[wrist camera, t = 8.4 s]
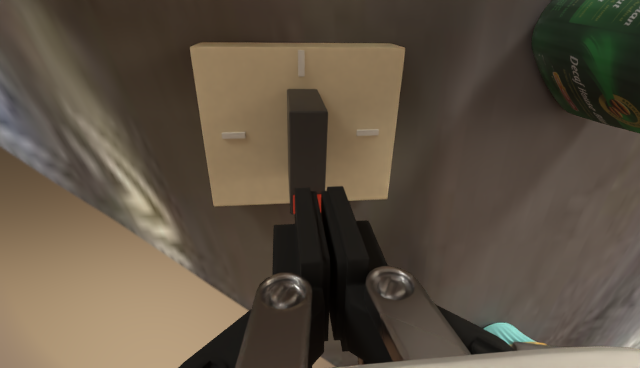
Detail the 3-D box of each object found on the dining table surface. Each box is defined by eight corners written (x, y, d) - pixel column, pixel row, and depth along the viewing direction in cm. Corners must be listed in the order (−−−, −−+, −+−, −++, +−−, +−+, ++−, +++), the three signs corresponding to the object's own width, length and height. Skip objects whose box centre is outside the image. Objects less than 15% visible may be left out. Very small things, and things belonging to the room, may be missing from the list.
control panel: (390, 43, 22) (406, 47, 19) (376, 180, 26) (388, 200, 24) (200, 42, 21) (188, 46, 18) (220, 186, 25) (213, 207, 22)
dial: (286, 88, 20) (289, 112, 15) (317, 88, 20) (329, 112, 15) (288, 174, 22) (290, 217, 17) (315, 173, 22) (324, 216, 18)
